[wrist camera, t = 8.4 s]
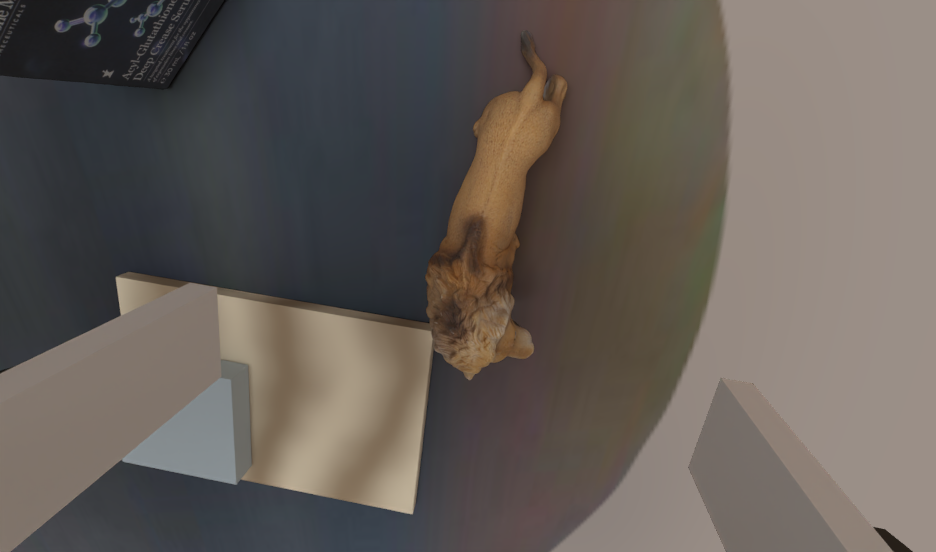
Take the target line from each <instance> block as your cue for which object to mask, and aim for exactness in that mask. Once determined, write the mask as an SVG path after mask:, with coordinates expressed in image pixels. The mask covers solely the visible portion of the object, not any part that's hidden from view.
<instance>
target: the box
mask: <svg viewBox="0 0 936 552" xmlns="http://www.w3.org/2000/svg"><path fill="white" fill-rule="evenodd" d="M223 1H224V0H0V75H3V76H12V77H21V78H33V79H48V80H59V81H71V82H85V83H95V84H109V85H117V86H129V87H144V88H155V89H167V88H168V86H169V85H170V83H171V81H172V80H173V79H174V77H175V75H176V74H177V72H178V71H179V69H180V68H181V66H182V65H183V63H184V62H185V60H186V59H187V57H188V55H189V54H190V52H191V50H192V49H193V47H194V46H195V44H196V42H197V41H198V40H199V38H200V36H201V35H202V33H203V32H204V31H205V29H206V27H207V26H208V24H209V23H210V21H211V19H212V18H213V17H214V15H215V14H216V12H217V11H218V9H219V8H220V6H221V5H222V3H223Z"/></svg>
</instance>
